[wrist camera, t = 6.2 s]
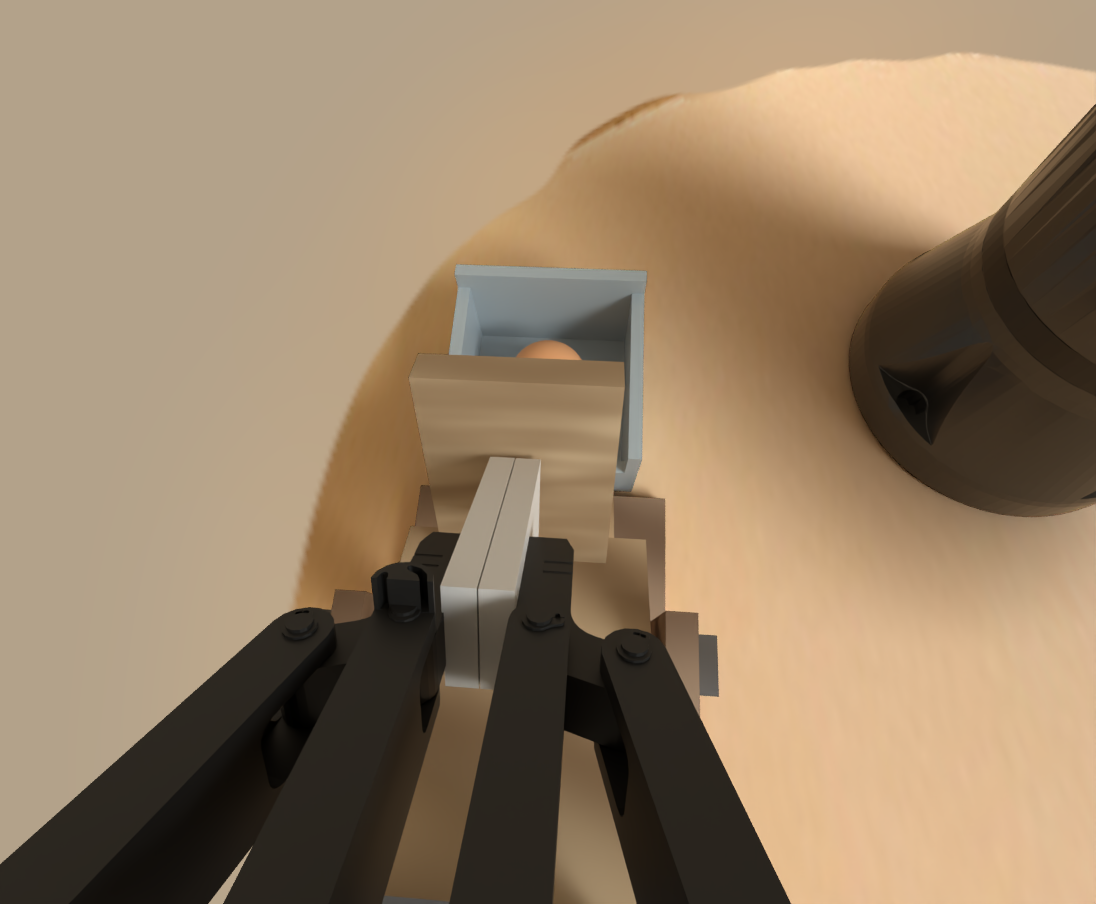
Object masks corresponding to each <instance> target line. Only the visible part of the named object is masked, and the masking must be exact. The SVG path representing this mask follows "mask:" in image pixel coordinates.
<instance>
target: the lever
mask: <svg viewBox="0 0 1096 904" xmlns="http://www.w3.org/2000/svg"><path fill="white" fill-rule="evenodd" d="M408 378H409V383H410V388H411V393H412V398H413V403H414V408H415V414H416V419H417V424H418V429H419V434H420V439H421V444H422V449H423V454H424V459H425V464H426V469H427V474H428V479H429V484H430V489H431V495H432V500H433V505H434V510H435V515H436V520H437V525H438V528H437V527H420V526H411V528H410V531H409V534H408V537H407V540H406V544H405V547H404V550H403V553H402V556H401V560H400V562H410V561H411V559H412V557H413V556H414V553H415V551H416V549H417V547H418V545H419V543H420V541H422V540H423V539H424V538H425V537H427V536H428V535H429V534H431V533H432V532H446V533H461V531H462V529H463V526H464V523H465V521H466V518H467V516H468V513H469V510H470V508H471V505H472V503H473V500H474V498H475V495H476V492H477V490H478V487H479V485H480V482H481V479H482V477H483V474H484V472H485V469H486V467H487V464H488V461H489V459H490V457H506V458H515V460H516V458H524V459H541V467H540V503H539V537H546V538H562V539H567V540H568V541H569V543H570V544H571V546H572V548H573V549H574V561H573V579H572V597H571V616H572V618H573V620H574V622H575V623H576V624H577V626H578V627H579V628H581V629H582V630H584V631H585V632H587V633H589V634H591V635H593V636H596V637H599V638H602V639H605V637H606V636H607V635H609V634H610V633H612V632H613V631H616V630H620V629H624V628H629V629H639V630H642V631H646V632H649V633H651V624H650V606H649V587H648V569H647V551H646V540H642V539H625V538H614V483H615V474H616V465H617V455H618V446H619V437H620V428H621V418H622V409H623V400H624V391H625V375H624V362H613V361H589V360H566V359H542V358H518V357H495V356H471V355H447V354H424V353H418V355H417V358H416V360H415V363H414V365H413V368H412V370H411V373H410V375H409V377H408ZM492 695H493V690H490V689H480V685H479V689H477V688H464V687H451V686H445V670H444V673H443V676H442V679H441V683H440V706H439V710H438V713H437V717H436V720H435V724H434V727H433V730H432V734H431V737H430V741H429V744H428V748H427V751H426V754H425V758H424V761H423V765H422V768H421V772H420V775H419V778H418V782H417V785H416V789H415V792H414V796H413V799H412V802H411V806H410V809H409V813H408V816H407V820H406V823H405V827H404V830H403V833H402V837H401V840H400V844H399V847H398V851H397V854H396V857H395V861H394V864H393V868H392V871H391V875H390V878H389V881H388V885H387V888H386V892H385V895H384V899H383V902H382V904H449V902H450V897H451V892H452V887H453V882H454V878H455V873H456V868H457V863H458V858H459V854H460V849H461V844H462V839H463V834H464V830H465V825H466V820H467V815H468V810H469V806H470V801H471V796H472V791H473V786H474V781H475V777H476V772H477V767H478V762H479V757H480V753H481V748H482V743H483V738H484V733H485V729H486V724H487V719H488V714H489V709H490V705H491V700H492ZM553 904H637V903H636V900H635V896H634V892H633V889H632V885H631V881H630V878H629V874H628V870H627V867H626V863H625V859H624V856H623V852H622V849H621V845H620V841H619V838H618V834H617V830H616V827H615V823H614V819H613V816H612V812H611V808H610V805H609V801H608V798H607V794H606V790H605V787H604V783H603V779H602V776H601V772H600V768H599V765H598V761H597V758H596V754H595V750H594V742H593V741H590V740H588V739H585V738H583V737H580V736H577V735H575V734H572V733H570V732H567V731H564V741H563V755H562V771H561V787H560V804H559V820H558V836H557V852H556V868H555V884H554V900H553Z"/></svg>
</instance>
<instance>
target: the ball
mask: <svg viewBox="0 0 1096 904" xmlns="http://www.w3.org/2000/svg"><path fill="white" fill-rule="evenodd" d="M516 357H518V358H542V359H566V360H582V359H581V358H580V356H579V355H578V354H577V353H576V352H575V351H574V350H573V349H572V348H571V347H569V346H568V345H566V344H564V343H561V342H558V341H554V340H542V341H538V342H534V343H532V344H530V345H528V346H527V347H525V348H524V349H522V350H521V351H520V353H519V354H518V355H517V356H516Z"/></svg>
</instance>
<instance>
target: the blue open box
mask: <svg viewBox="0 0 1096 904" xmlns="http://www.w3.org/2000/svg"><path fill="white" fill-rule="evenodd" d="M455 278H456V282H457V285H458V292H457V299H456V306H455V313H454V320H453V327H452V335H451V342H450V349H449V355H471V356H495V357H516V356H517V355H518V354H519V353H520V351H521V350H522V349H524V348H525V347H527V346H528V345H530V344H532V343H534V342H538V341H542V340H554V341H558V342H561V343H564V344H566V345H568V346H569V347H571V348H572V349H573V350H574V351H575V352H576V353H577V354H578V355H579V356H580V358H581V359H582V360H589V361H613V362H624V375H625V391H624V400H623V409H622V418H621V428H620V437H619V446H618V455H617V465H616V474H615V483H614V491H623V492H631V491H632V488H633V485H634V482H635V479H636V476H637V473H638V470H639V467H640V464H641V461H642V425H643V352H644V293H645V288H646V283H647V271H636V270H606V269H576V268H547V267H517V266H488V265H458V264H456V268H455Z"/></svg>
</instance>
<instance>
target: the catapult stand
mask: <svg viewBox="0 0 1096 904" xmlns="http://www.w3.org/2000/svg"><path fill="white" fill-rule="evenodd" d="M415 526H420V527H437V528H438V525H437V520H436V515H435V510H434V505H433V500H432V495H431V489H430V486H423V485H421V488H420V495H419V502H418V509H417V516H416V523H415ZM614 538H625V539H642V540H646V551H647V569H648V587H649V606H650V624H651V634H652V635H654V636H655V637H657V638H658V639H660V641H661V642H662V643H663V645H664V646H665V647H666V649H667V651H668V653H669V655H670V657H671V659H672V661H673V663H674V665H675V667H676V669H677V672H678V674H679V676H680V678H681V680H682V682H683V684H684V686H685V688H686V690H687V692H688V694H689V696H690V698H691V700H692V702H693V704H694V706H695V708H696V710H697V712H698V714H699V717H700V695H703V696H717V697H719V689H718V654H717V636H714V635H699V634H698V613H690V612H675V611H665V499H661V498H643V497H625V496H614ZM323 610H325V609H323ZM325 611H327V612H329V613H330V614H331V615H332V617H333V618H334V624H337V623H344V622H350V621H356V620H361V619H365V618H368V617H370V616H371V615H372V613H373V611H374V602H373V594H371V593H368V592H366V591H351V590H336V589H335V594H334V599H333V605H332V610H325Z"/></svg>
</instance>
